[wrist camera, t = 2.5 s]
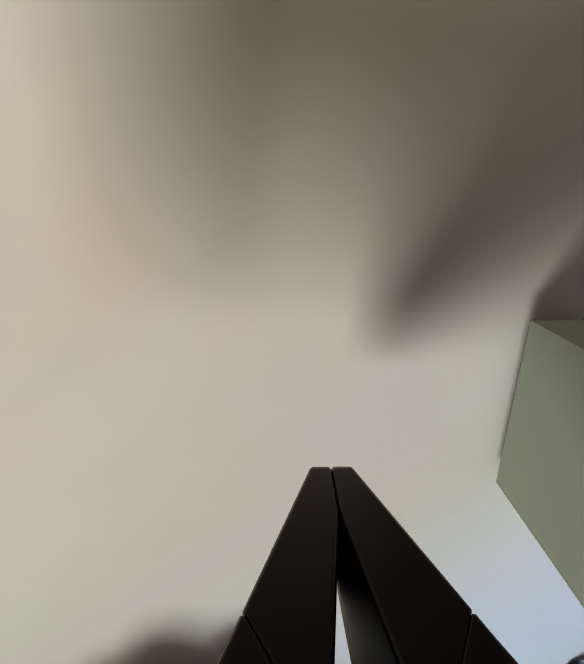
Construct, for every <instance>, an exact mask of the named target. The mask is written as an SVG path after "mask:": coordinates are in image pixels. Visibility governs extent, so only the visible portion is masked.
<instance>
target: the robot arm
mask: <svg viewBox="0 0 584 664" xmlns="http://www.w3.org/2000/svg"><path fill="white" fill-rule="evenodd" d="M337 589H338V595H339V601H340V607H341V612H342V617H343V622H344V628H345V633H346V638H347V643H348V649H349V654H350V659H351V664H518V663H517V662H516V661H515V659H514V658H513V657H512V656H511V655H510V654H509V653H508V651H507V650H506V649H505V648H504V647H503V646H502V645H501V644H500V642H499V641H498V640H497V639H496V638H495V637H494V635H493V634H492V633H491V632H490V631H489V630H488V628H487V627H486V626H485V625H484V624H483V622H482V621H481V620H480V619H479V618H478V616H477V615H476V614H472V610H471V608H470V607H469V606H468V605H467V604H466V602H465V601H464V600H463V599H462V598H461V596H460V595H459V594H458V593H457V592H456V590H455V589H454V588H453V587H452V586H451V585H450V583H449V582H448V581H447V580H446V579H445V577H444V576H443V575H442V574H441V573H440V571H439V570H438V569H437V568H436V567H435V566H434V564H433V563H432V562H431V561H430V560H429V558H428V557H427V556H426V555H425V554H424V552H423V551H422V550H421V549H420V548H419V547H418V545H417V544H416V543H415V542H414V541H413V539H412V538H411V537H410V536H409V535H408V533H407V532H406V531H405V530H404V529H403V527H402V526H401V525H400V524H399V523H398V522H397V520H396V519H395V518H394V517H393V516H392V514H391V513H390V512H389V511H388V510H387V508H386V507H385V506H384V505H383V504H382V503H381V501H380V500H379V499H378V498H377V497H376V495H375V494H374V493H373V492H372V491H371V489H370V488H369V487H368V486H367V485H366V484H365V482H364V481H363V480H362V479H361V478H360V476H359V475H358V474H357V473H356V472H355V470H354V469H353V468H351V467H333V468H332V469H330V468H329V467H312V468H311V469H310V470H309V472H308V474H307V476H306V478H305V481H304V483H303V485H302V487H301V489H300V491H299V493H298V495H297V497H296V500H295V502H294V504H293V506H292V508H291V510H290V512H289V514H288V517H287V519H286V521H285V523H284V525H283V527H282V529H281V531H280V533H279V536H278V538H277V540H276V542H275V544H274V546H273V548H272V550H271V553H270V555H269V557H268V559H267V561H266V563H265V565H264V567H263V570H262V572H261V574H260V576H259V578H258V580H257V582H256V584H255V586H254V589H253V591H252V593H251V595H250V597H249V599H248V601H247V603H246V606H245V608H244V610H243V616H241V617H240V618H239V620H238V622H237V624H236V626H235V628H234V630H233V632H232V635H231V637H230V639H229V641H228V643H227V645H226V647H225V649H224V651H223V653H222V655H221V657H220V659H219V661H218V663H217V664H334V663H335V631H336V598H337ZM471 614H472V615H471Z"/></svg>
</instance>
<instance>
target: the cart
mask: <svg viewBox="0 0 584 664" xmlns="http://www.w3.org/2000/svg"><path fill="white" fill-rule="evenodd" d="M496 482H497V484H498V485H499V487H500V488H501V490H502V491H503V492H504V494H505V495H506V497H507V498H508V500H509V501H510V503H511V504H512V505H513V507H514V508H515V510H516V511H517V513H518V514H519V515H520V517H521V518H522V520H523V521H524V523H525V524H526V526H527V527H528V528H529V530H530V531H531V533H532V534H533V536H534V537H535V539H536V540H537V541H538V543H539V544H540V546H541V547H542V549H543V550H544V551H545V553H546V554H547V556H548V557H549V559H550V560H551V562H552V563H553V564H554V566H555V567H556V569H557V570H558V572H559V573H560V574H561V576H562V577H563V579H564V580H565V582H566V583H567V585H568V586H569V587H570V589H571V590H572V592H573V593H574V595H575V596H576V597H577V599H578V600H579V602H580V603H581V605H582V606H583V608H584V320H531V321H530V326H529V330H528V335H527V340H526V344H525V349H524V354H523V358H522V363H521V368H520V372H519V377H518V382H517V386H516V391H515V396H514V400H513V405H512V410H511V414H510V419H509V424H508V428H507V433H506V438H505V442H504V447H503V452H502V456H501V461H500V465H499V470H498V475H497V479H496Z"/></svg>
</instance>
